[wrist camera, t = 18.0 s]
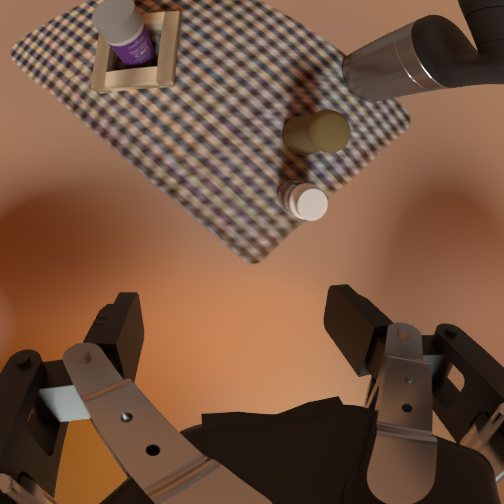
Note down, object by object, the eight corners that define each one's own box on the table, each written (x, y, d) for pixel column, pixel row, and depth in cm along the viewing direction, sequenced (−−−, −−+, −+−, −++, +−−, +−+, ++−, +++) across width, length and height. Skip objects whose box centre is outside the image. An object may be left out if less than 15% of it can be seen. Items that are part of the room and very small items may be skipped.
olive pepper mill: (281, 115, 37) (308, 102, 27) (319, 116, 38) (357, 106, 28) (283, 155, 39) (311, 156, 29) (321, 155, 40) (359, 157, 30)
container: (147, 73, 32) (122, 32, 18) (119, 67, 31) (82, 28, 17) (160, 46, 31) (144, -4, 17) (132, 40, 30) (104, -8, 16)
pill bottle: (312, 188, 42) (337, 196, 34) (297, 216, 43) (319, 229, 35) (286, 173, 40) (307, 177, 32) (271, 201, 41) (288, 212, 33)
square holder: (180, 22, 30) (179, 10, 26) (174, 86, 33) (171, 79, 30) (109, 30, 28) (102, 19, 24) (100, 93, 31) (90, 87, 28)
